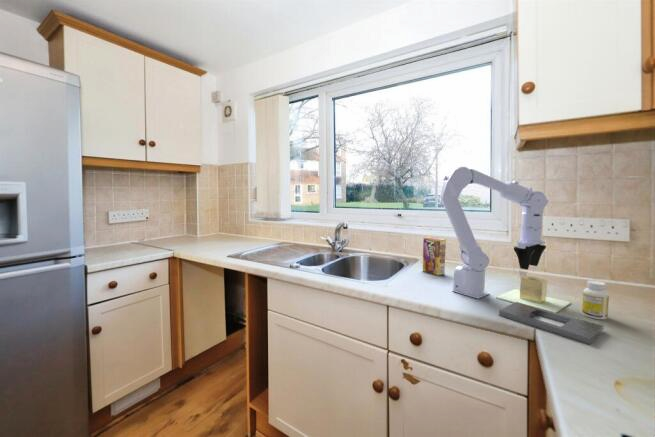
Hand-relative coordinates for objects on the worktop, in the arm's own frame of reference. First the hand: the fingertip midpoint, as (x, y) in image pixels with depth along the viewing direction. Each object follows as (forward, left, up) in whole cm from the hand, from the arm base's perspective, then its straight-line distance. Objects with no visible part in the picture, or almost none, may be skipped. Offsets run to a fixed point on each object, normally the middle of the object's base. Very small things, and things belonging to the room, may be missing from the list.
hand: (528, 267), depth 99 cm
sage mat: (+3, -4, -10) cm, 11 cm away
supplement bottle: (+18, -3, -10) cm, 21 cm away
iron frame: (+12, -19, -10) cm, 25 cm away
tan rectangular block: (+3, -4, -10) cm, 11 cm away
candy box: (-36, -1, -10) cm, 37 cm away
